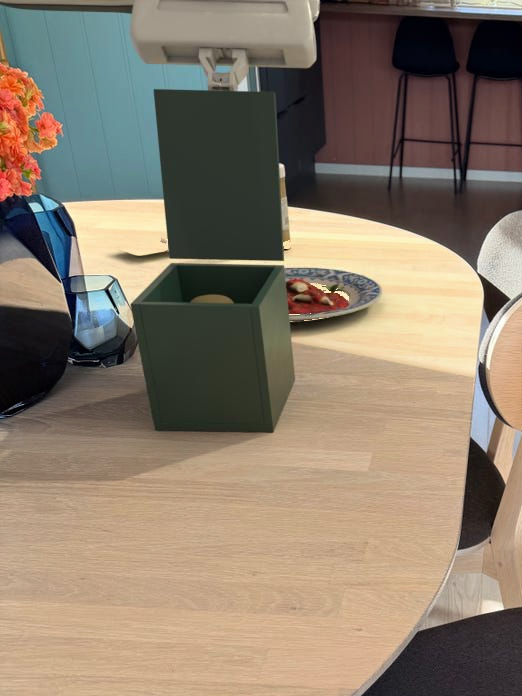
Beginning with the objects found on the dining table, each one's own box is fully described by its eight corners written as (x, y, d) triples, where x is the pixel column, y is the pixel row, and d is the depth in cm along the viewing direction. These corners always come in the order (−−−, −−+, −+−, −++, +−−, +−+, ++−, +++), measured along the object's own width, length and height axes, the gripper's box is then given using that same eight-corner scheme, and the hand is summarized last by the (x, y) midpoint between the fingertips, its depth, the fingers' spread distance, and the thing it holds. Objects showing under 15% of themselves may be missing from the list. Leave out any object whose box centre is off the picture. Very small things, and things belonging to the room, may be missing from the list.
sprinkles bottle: (274, 244, 167) (266, 161, 159) (296, 246, 166) (289, 163, 158) (260, 249, 164) (251, 165, 156) (283, 252, 163) (275, 167, 155)
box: (273, 432, 101) (259, 306, 93) (154, 430, 100) (130, 304, 92) (295, 379, 113) (284, 265, 106) (189, 377, 113) (170, 262, 105)
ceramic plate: (226, 342, 124) (223, 320, 122) (191, 290, 143) (188, 270, 141) (407, 322, 133) (407, 300, 131) (352, 275, 151) (351, 256, 150)
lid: (274, 91, 99) (275, 93, 100) (153, 88, 99) (155, 90, 99) (283, 260, 105) (284, 261, 106) (169, 258, 105) (171, 258, 105)
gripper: (324, 9, 109) (320, 115, 106) (148, 4, 108) (140, 111, 106) (316, -38, 102) (311, 74, 100) (129, -44, 102) (120, 69, 100)
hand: (222, 93), depth 103 cm, fingers closed
